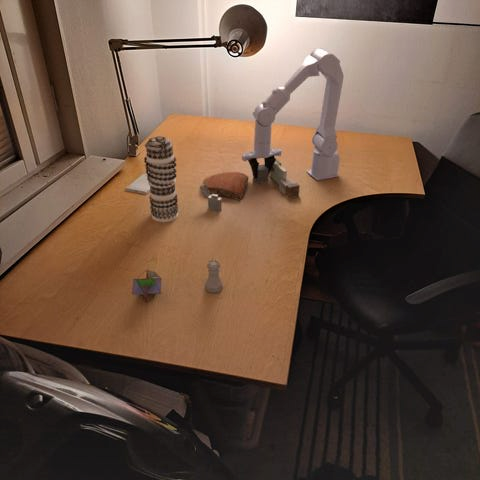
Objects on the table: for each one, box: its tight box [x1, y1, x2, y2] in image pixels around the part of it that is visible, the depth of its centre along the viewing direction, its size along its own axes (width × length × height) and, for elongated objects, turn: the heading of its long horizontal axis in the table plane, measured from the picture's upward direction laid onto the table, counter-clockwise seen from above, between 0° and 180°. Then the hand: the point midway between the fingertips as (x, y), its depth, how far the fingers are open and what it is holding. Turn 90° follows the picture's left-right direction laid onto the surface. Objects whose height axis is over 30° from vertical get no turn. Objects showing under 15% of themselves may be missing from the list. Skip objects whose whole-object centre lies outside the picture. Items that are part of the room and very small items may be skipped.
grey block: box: [252, 163, 269, 184], centre depth 162 cm, size 4×4×5 cm
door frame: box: [276, 158, 300, 199], centre depth 160 cm, size 4×22×6 cm, turn 23°
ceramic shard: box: [202, 171, 249, 201], centre depth 157 cm, size 15×6×15 cm
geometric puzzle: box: [131, 269, 162, 303], centre depth 108 cm, size 7×7×8 cm
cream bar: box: [269, 162, 288, 185], centre depth 160 cm, size 2×10×6 cm, turn 23°
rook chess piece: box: [204, 259, 224, 294], centre depth 110 cm, size 4×4×8 cm
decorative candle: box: [143, 136, 179, 223], centre depth 135 cm, size 9×9×25 cm
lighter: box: [199, 183, 222, 213], centre depth 144 cm, size 7×2×8 cm, turn 64°
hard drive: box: [125, 173, 150, 195], centre depth 159 cm, size 2×8×12 cm
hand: (260, 176), depth 163 cm, fingers closed on grey block, 4 cm apart
